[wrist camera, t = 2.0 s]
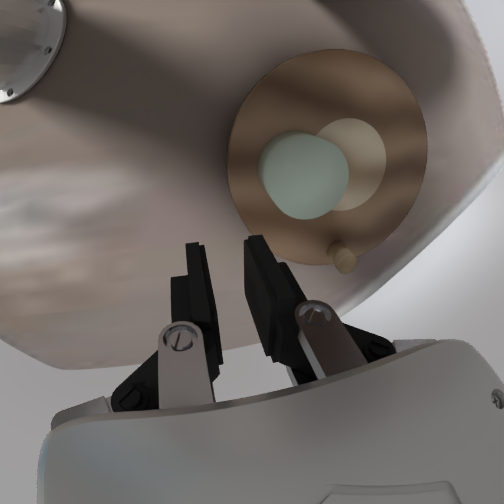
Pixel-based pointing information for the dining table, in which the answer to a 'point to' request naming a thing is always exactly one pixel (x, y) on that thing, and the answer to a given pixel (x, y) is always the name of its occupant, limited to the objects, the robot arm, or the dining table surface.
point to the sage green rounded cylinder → (303, 174)
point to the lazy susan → (346, 139)
